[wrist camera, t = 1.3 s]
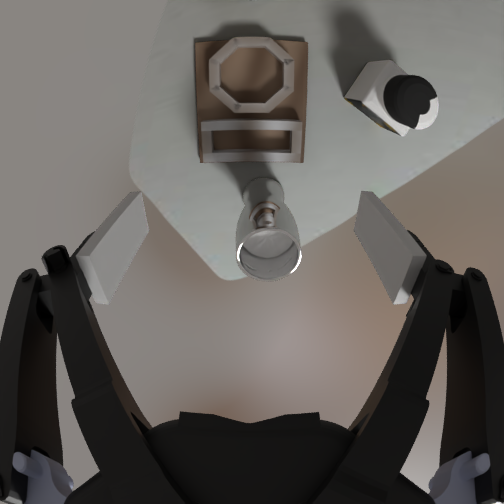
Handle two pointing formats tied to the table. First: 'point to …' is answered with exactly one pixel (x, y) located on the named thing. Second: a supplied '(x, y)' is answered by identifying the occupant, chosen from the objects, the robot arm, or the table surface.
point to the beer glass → (266, 233)
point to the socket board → (251, 99)
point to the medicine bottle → (393, 97)
